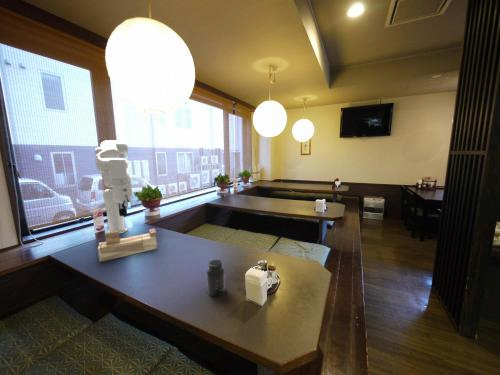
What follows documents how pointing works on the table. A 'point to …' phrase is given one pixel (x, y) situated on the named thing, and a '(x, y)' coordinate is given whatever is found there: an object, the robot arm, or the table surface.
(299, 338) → the table surface
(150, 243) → the light wooden long piece
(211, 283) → the supplement bottle
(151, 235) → the brown wooden block
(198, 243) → the table surface
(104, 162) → the robot arm
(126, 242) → the lid
